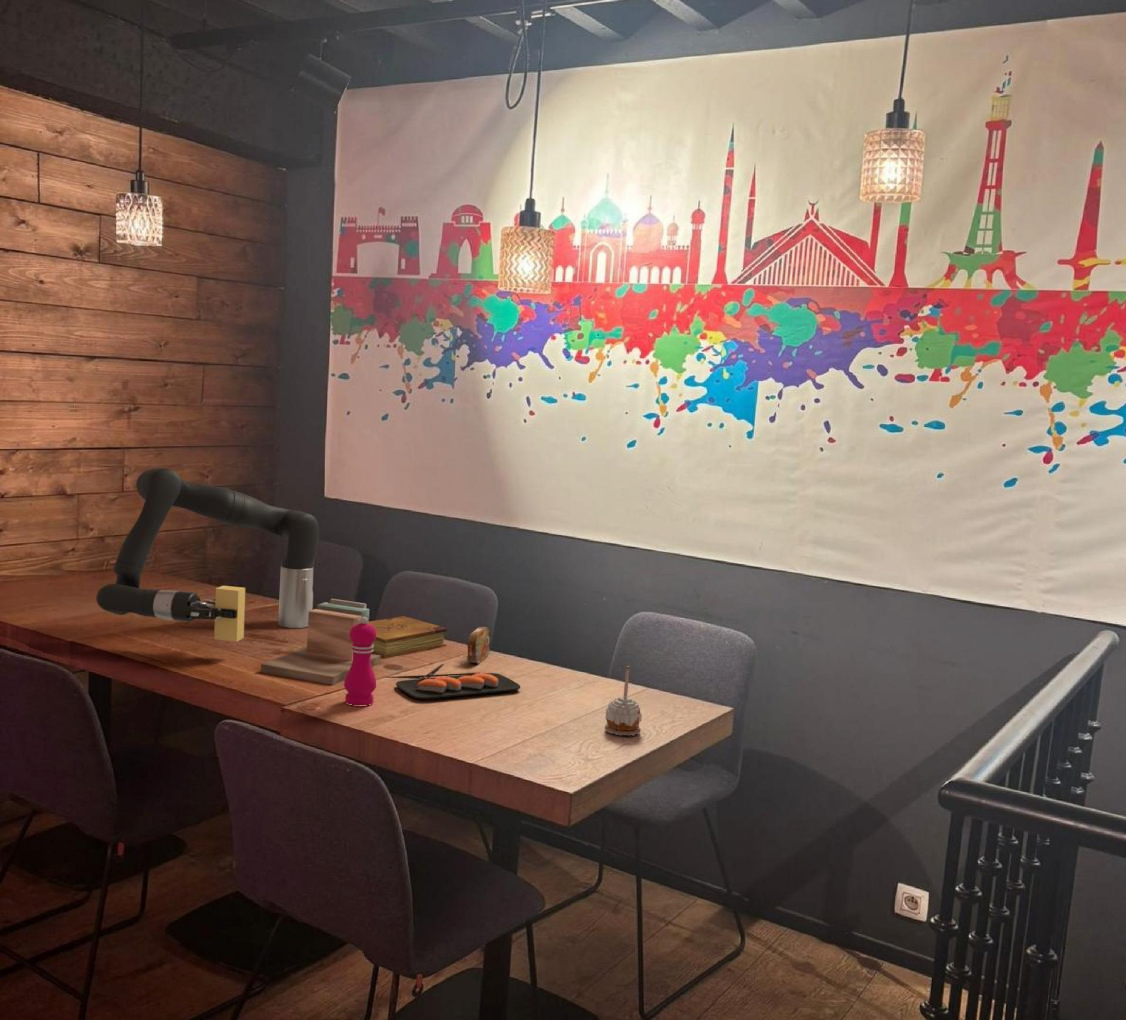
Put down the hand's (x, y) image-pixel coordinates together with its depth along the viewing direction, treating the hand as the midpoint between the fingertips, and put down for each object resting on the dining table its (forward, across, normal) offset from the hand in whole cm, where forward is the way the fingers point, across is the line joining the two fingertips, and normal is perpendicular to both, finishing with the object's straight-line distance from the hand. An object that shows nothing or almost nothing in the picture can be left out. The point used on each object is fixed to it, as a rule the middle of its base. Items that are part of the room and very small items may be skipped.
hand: (240, 612), depth 273 cm
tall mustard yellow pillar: (-3, 0, +7) cm, 8 cm away
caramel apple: (+100, -22, +13) cm, 103 cm away
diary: (+31, +31, +14) cm, 46 cm away
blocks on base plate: (+22, +1, +12) cm, 25 cm away
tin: (+56, +26, +13) cm, 63 cm away
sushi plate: (+53, +2, +13) cm, 55 cm away
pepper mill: (+40, -23, +12) cm, 48 cm away
